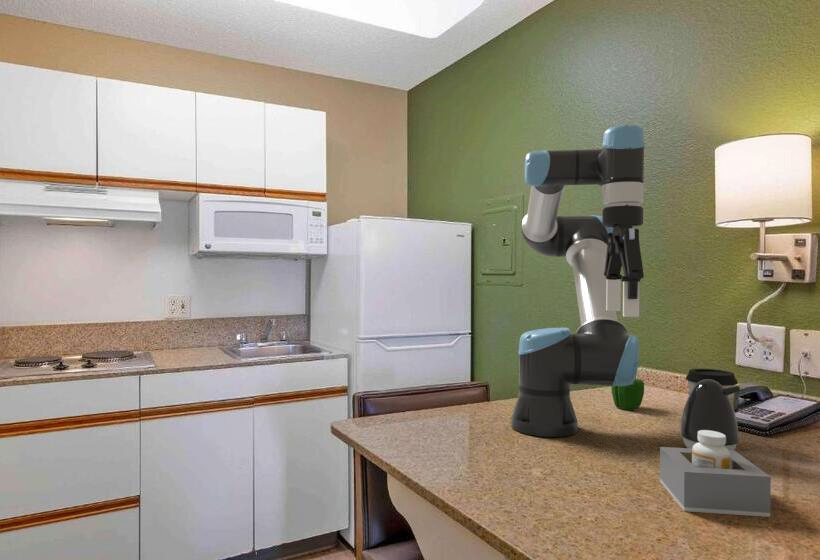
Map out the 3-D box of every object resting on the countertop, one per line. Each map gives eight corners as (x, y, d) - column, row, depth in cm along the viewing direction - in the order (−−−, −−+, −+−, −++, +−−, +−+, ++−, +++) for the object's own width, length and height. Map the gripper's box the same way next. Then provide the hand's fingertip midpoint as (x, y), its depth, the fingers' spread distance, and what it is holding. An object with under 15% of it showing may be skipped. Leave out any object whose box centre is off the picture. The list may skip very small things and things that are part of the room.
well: (684, 511, 81) (684, 471, 81) (659, 481, 93) (660, 446, 93) (770, 516, 79) (770, 476, 79) (734, 485, 91) (734, 450, 91)
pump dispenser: (739, 468, 99) (740, 386, 99) (677, 457, 105) (678, 380, 105) (740, 452, 108) (740, 378, 108) (682, 444, 113) (683, 372, 113)
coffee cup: (745, 449, 110) (745, 377, 110) (693, 446, 112) (694, 375, 112) (726, 435, 119) (727, 369, 119) (679, 432, 121) (680, 367, 121)
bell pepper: (615, 403, 150) (615, 367, 150) (646, 407, 145) (646, 370, 145) (606, 409, 143) (607, 372, 143) (639, 414, 138) (639, 375, 138)
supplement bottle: (698, 497, 84) (700, 437, 84) (685, 484, 89) (687, 427, 89) (735, 500, 83) (737, 439, 83) (719, 486, 89) (721, 429, 89)
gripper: (663, 198, 92) (662, 320, 93) (625, 212, 117) (624, 308, 118) (618, 198, 93) (617, 319, 94) (590, 212, 118) (589, 308, 119)
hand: (621, 313), depth 106 cm, fingers open, 13 cm apart
